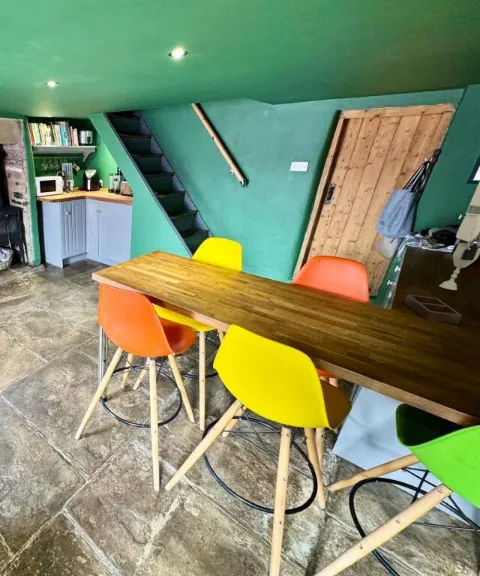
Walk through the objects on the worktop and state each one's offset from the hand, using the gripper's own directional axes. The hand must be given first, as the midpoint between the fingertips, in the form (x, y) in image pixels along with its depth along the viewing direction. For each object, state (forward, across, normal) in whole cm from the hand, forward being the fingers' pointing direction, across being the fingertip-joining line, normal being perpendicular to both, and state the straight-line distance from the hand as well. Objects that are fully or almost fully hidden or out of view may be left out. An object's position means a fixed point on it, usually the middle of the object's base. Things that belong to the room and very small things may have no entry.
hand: (461, 257), depth 118 cm
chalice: (+13, 0, 0) cm, 13 cm away
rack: (+27, +3, +1) cm, 27 cm away
